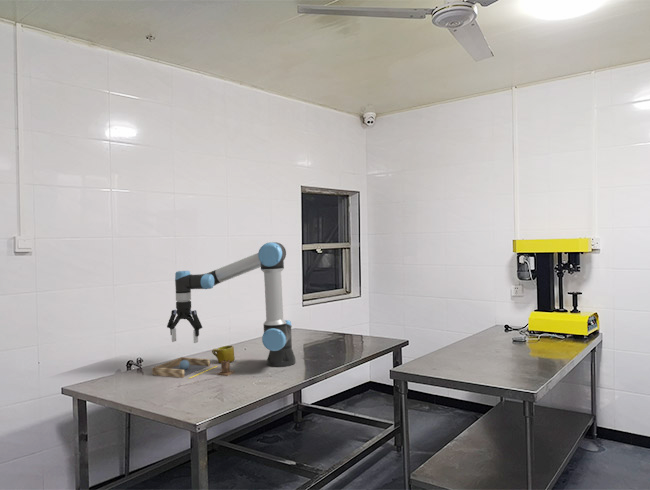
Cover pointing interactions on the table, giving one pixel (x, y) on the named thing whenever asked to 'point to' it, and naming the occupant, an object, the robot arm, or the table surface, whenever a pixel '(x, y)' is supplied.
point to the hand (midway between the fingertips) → (184, 342)
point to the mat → (190, 368)
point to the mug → (224, 353)
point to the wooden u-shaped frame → (165, 368)
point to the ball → (184, 364)
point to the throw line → (203, 372)
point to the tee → (225, 368)
